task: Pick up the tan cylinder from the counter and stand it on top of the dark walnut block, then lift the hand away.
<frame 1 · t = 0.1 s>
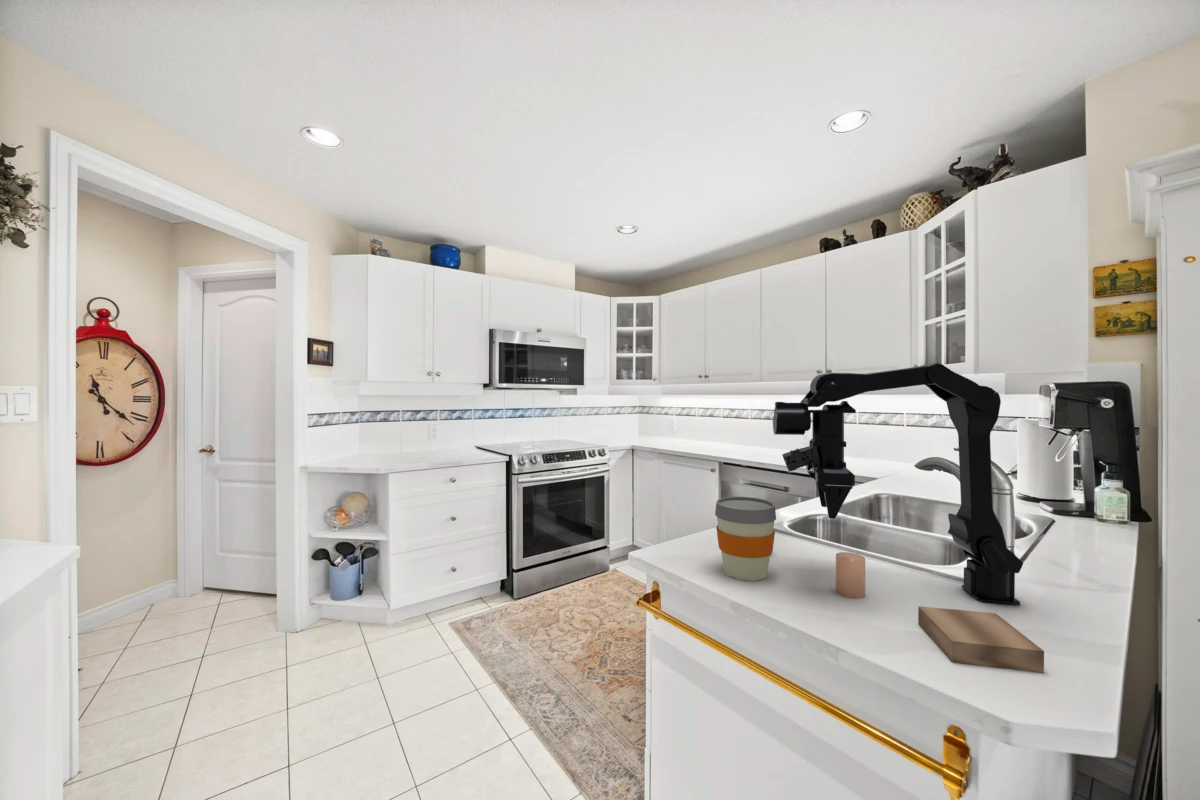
hand: (828, 512, 92), 14 cm above the counter, tool pointing down, fingers open, 9 cm apart
reusable coffee cup: (745, 573, 99), on the counter
tan cylinder: (850, 592, 88), on the counter
walnut block: (975, 645, 70), on the counter
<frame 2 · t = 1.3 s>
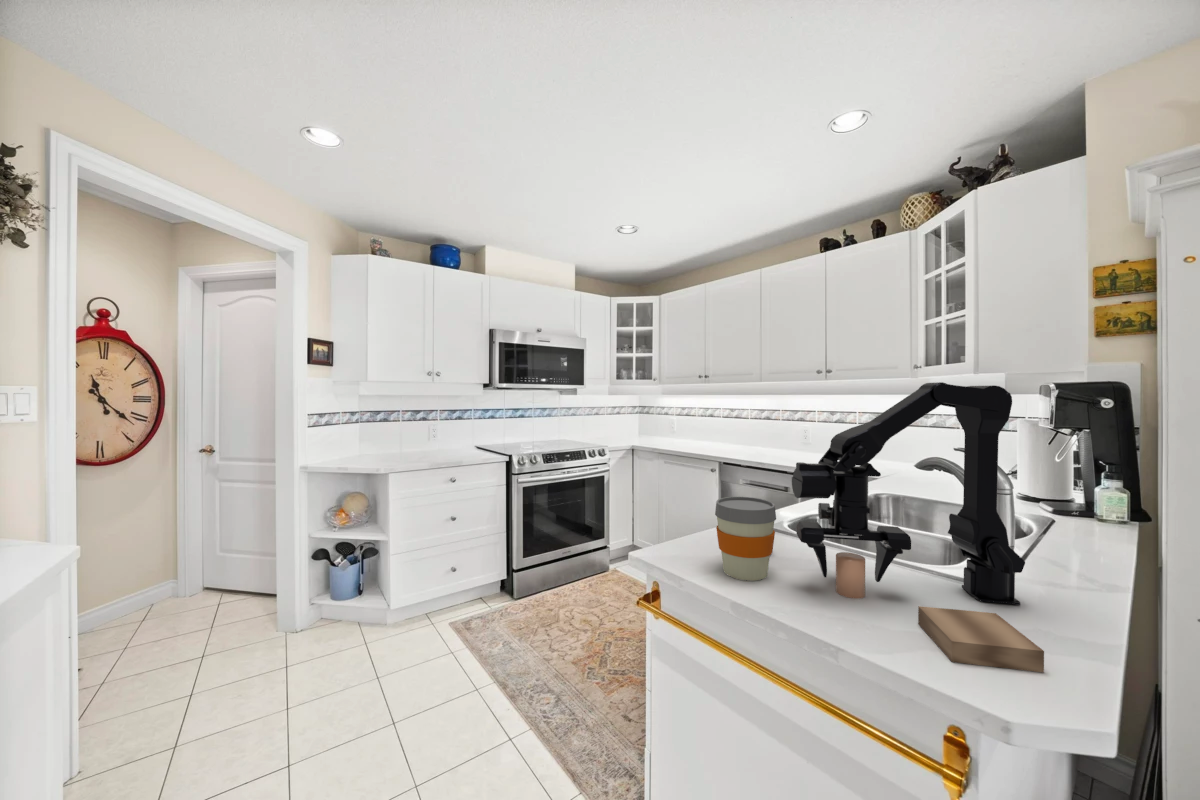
hand: (850, 579, 88), 3 cm above the counter, tool pointing down, fingers open, 9 cm apart
nothing on the counter moved.
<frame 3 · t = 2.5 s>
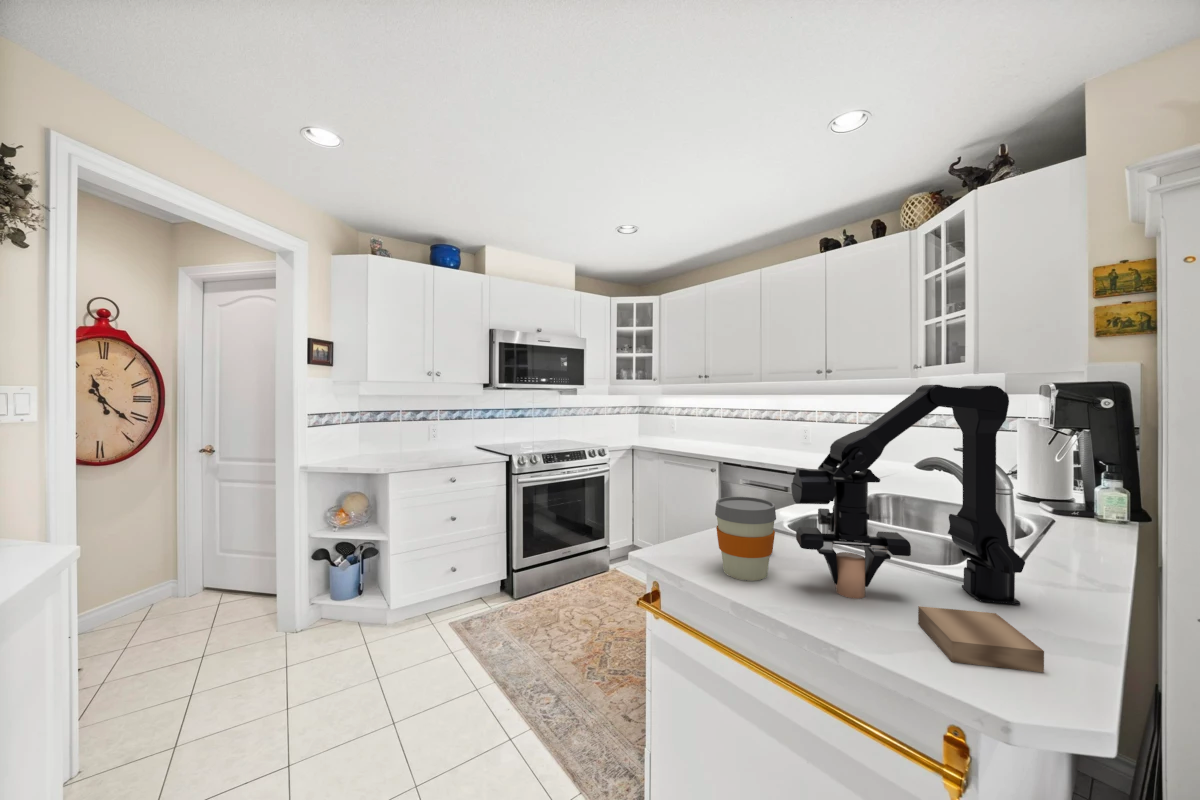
hand: (850, 584, 88), 2 cm above the counter, tool pointing down, fingers closed on tan cylinder, 5 cm apart
tan cylinder: (850, 592, 88), on the counter, touching gripper
everything else where it was.
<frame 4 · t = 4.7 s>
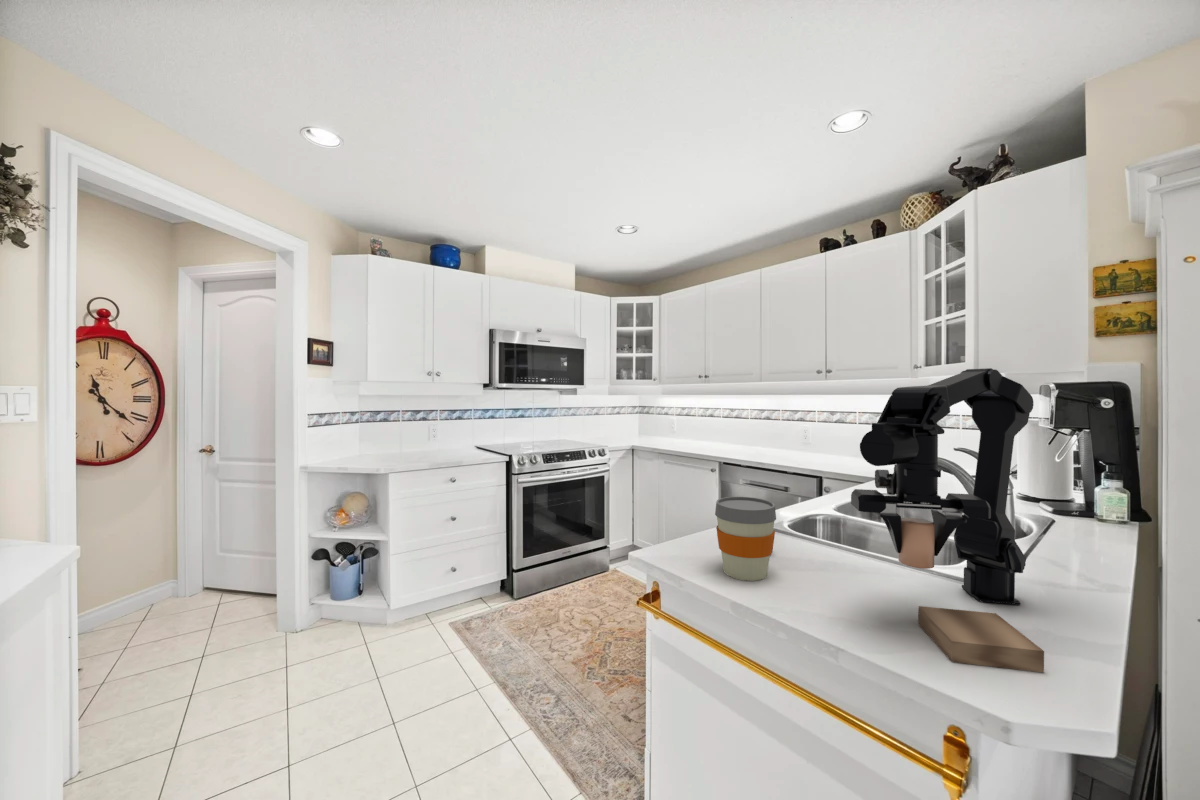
hand: (916, 553, 77), 11 cm above the counter, tool pointing down, fingers closed on tan cylinder, 5 cm apart
tan cylinder: (916, 562, 77), point 10 cm above the counter, touching gripper
everything else where it was.
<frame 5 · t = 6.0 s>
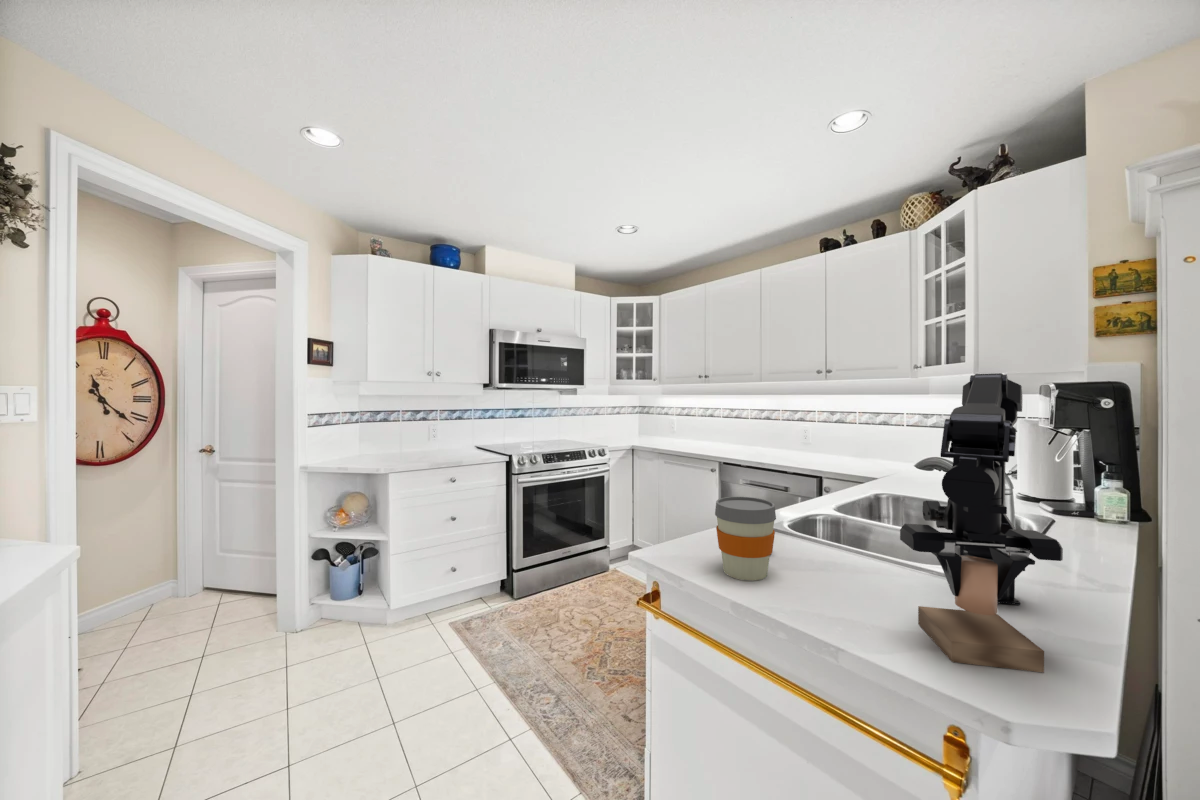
hand: (975, 596, 70), 8 cm above the counter, tool pointing down, fingers closed on tan cylinder, 5 cm apart
tan cylinder: (975, 607, 70), point 6 cm above the counter, touching gripper
everything else where it was.
when the fingers open (6 cm above the counter, at t = 7.1 s): tan cylinder drops 1 cm, resting on walnut block.
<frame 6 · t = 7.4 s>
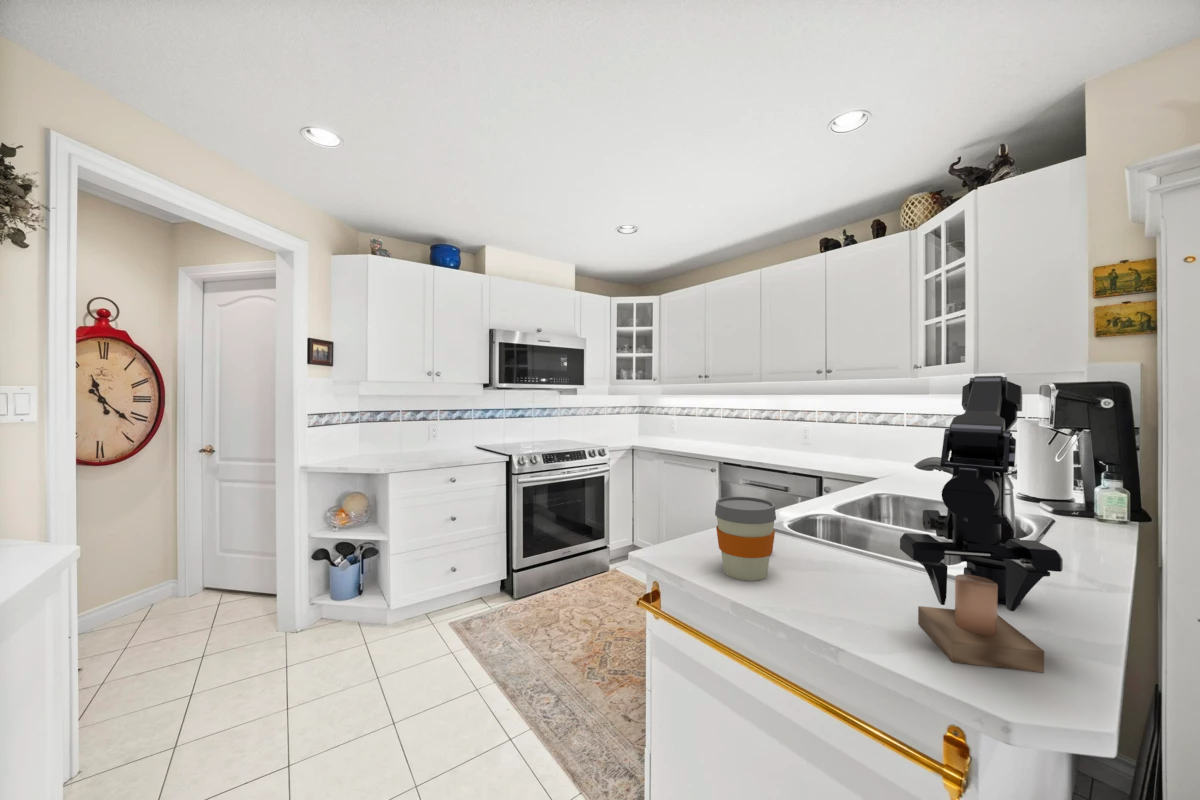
hand: (975, 606, 70), 6 cm above the counter, tool pointing down, fingers open, 9 cm apart
tan cylinder: (975, 626, 70), point 3 cm above the counter, touching walnut block
everything else where it was.
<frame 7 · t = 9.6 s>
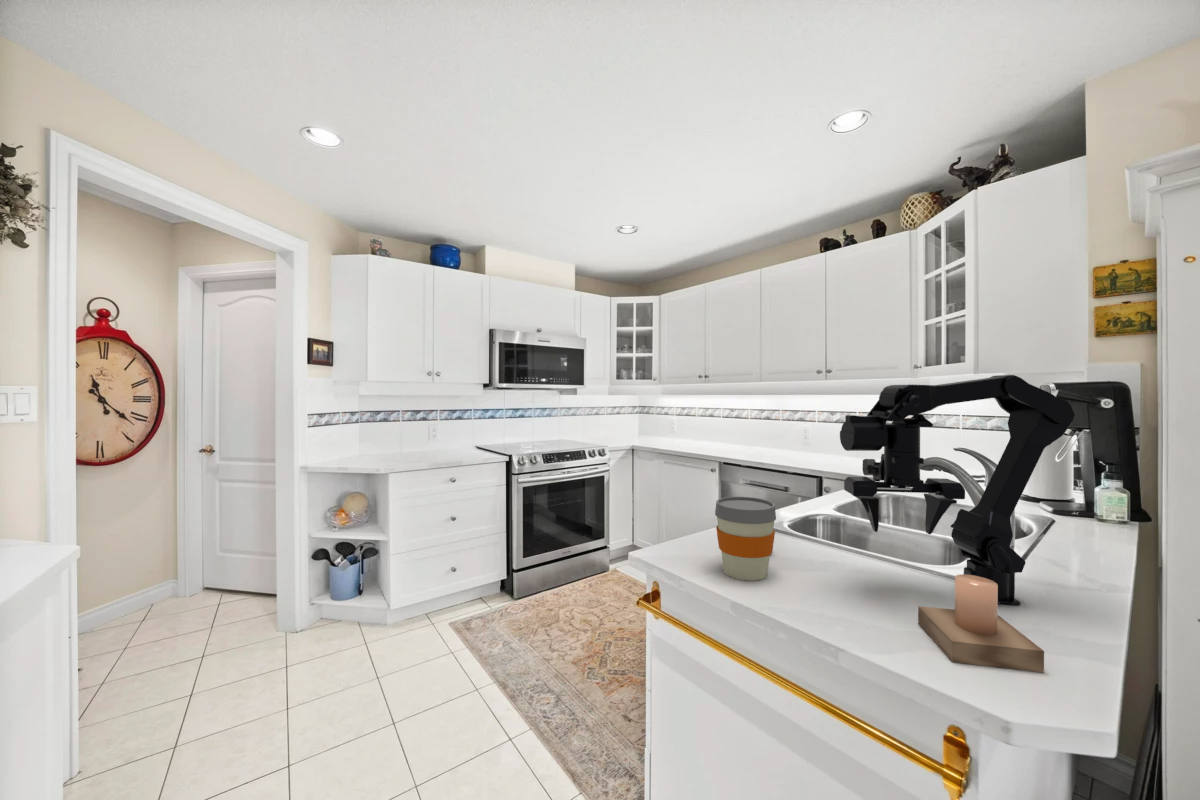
hand: (901, 532, 87), 12 cm above the counter, tool pointing down, fingers open, 9 cm apart
nothing on the counter moved.
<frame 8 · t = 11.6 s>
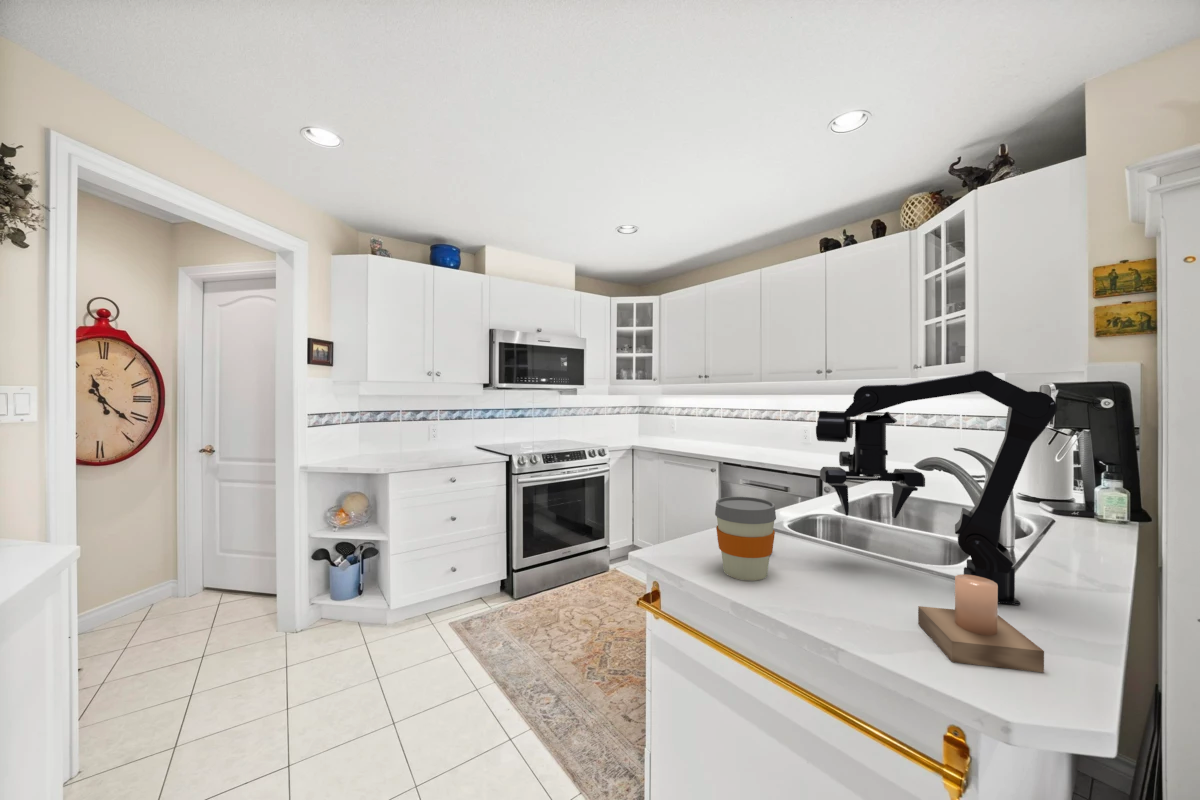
hand: (870, 516, 98), 12 cm above the counter, tool pointing down, fingers open, 9 cm apart
nothing on the counter moved.
at the end: tan cylinder inside the target area on the walnut block (0.0 cm from its centre), point 3.0 cm above the walnut block's base; tan cylinder tilted 0°; the gripper is holding nothing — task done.
